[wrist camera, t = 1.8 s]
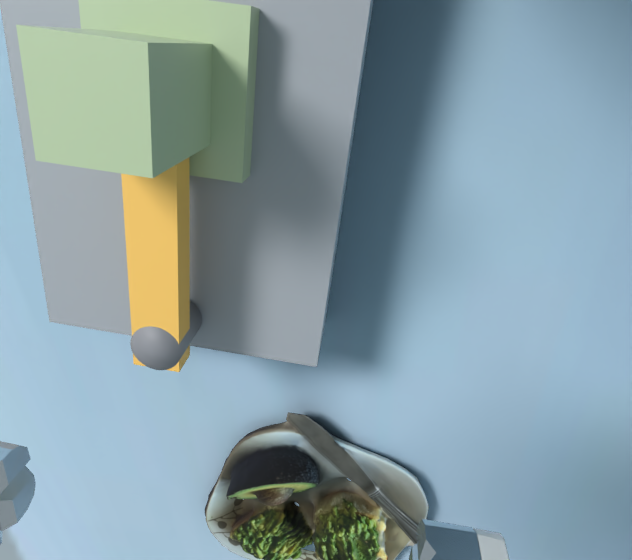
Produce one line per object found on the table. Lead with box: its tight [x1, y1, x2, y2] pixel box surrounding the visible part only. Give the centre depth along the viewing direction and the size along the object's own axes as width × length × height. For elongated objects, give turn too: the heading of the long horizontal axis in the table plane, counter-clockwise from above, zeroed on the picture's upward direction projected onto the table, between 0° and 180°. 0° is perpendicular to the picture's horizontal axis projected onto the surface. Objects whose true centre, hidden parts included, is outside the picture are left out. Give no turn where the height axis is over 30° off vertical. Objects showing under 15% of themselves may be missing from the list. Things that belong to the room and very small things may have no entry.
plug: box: [16, 0, 260, 183], centre depth 20 cm, size 7×7×11 cm
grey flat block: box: [0, 0, 374, 367], centre depth 25 cm, size 24×16×5 cm, turn 173°
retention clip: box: [121, 157, 202, 372], centre depth 23 cm, size 11×3×3 cm, turn 173°
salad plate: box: [205, 412, 429, 560], centre depth 38 cm, size 19×18×5 cm
